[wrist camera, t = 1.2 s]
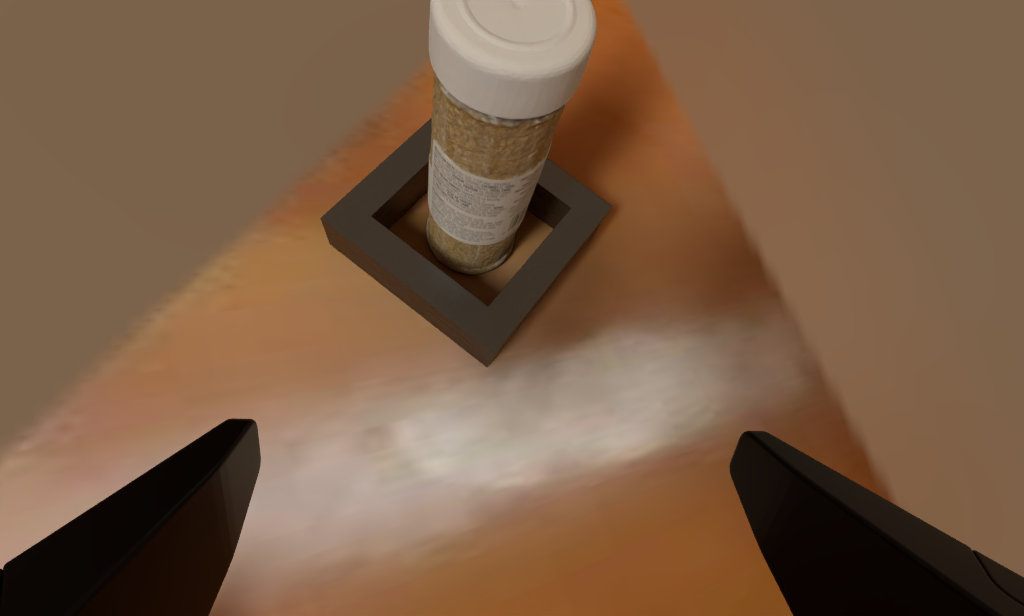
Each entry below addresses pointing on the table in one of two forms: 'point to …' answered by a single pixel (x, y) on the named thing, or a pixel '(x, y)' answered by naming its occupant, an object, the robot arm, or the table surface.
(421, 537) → the table surface
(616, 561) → the table surface
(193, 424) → the table surface
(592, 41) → the sprinkles bottle
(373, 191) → the socket holder
